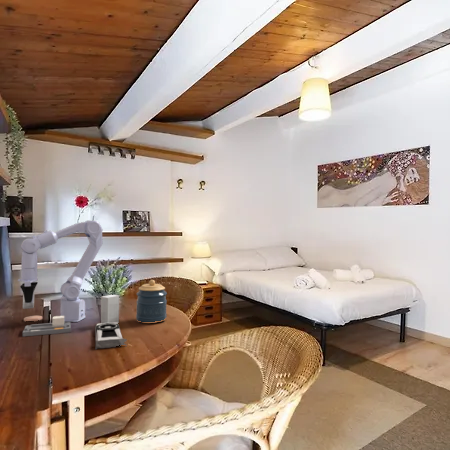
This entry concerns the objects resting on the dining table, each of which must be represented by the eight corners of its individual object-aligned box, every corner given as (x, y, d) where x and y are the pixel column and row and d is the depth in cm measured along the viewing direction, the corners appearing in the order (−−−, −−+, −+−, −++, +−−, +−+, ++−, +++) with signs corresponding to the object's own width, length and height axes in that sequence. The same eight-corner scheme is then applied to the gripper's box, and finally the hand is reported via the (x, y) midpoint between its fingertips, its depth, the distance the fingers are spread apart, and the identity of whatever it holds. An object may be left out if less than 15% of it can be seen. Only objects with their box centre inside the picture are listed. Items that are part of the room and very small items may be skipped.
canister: (144, 326, 147) (145, 283, 147) (130, 319, 157) (131, 279, 157) (172, 321, 156) (172, 280, 156) (157, 315, 166) (158, 276, 166)
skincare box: (111, 322, 152) (112, 294, 152) (118, 324, 150) (119, 295, 150) (100, 325, 147) (100, 296, 147) (107, 327, 145) (107, 297, 145)
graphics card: (95, 341, 119) (95, 321, 142) (95, 351, 119) (95, 330, 142) (127, 338, 122) (121, 320, 146) (127, 348, 122) (121, 328, 146)
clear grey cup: (35, 306, 149) (36, 287, 149) (30, 308, 145) (30, 288, 145) (26, 306, 149) (27, 286, 149) (20, 308, 145) (21, 288, 145)
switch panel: (22, 336, 131) (22, 330, 131) (25, 329, 140) (25, 324, 140) (70, 332, 138) (70, 326, 138) (70, 326, 146) (70, 320, 146)
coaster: (45, 317, 158) (45, 315, 158) (36, 322, 151) (36, 320, 151) (30, 317, 158) (30, 315, 158) (20, 321, 151) (20, 319, 151)
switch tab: (52, 327, 138) (52, 318, 138) (52, 324, 141) (53, 316, 141) (63, 326, 139) (64, 317, 139) (64, 324, 143) (64, 315, 143)
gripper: (20, 266, 152) (19, 298, 152) (15, 270, 139) (15, 305, 139) (39, 265, 155) (38, 297, 155) (36, 269, 142) (35, 304, 142)
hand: (28, 301), depth 147 cm, fingers closed on clear grey cup, 4 cm apart
